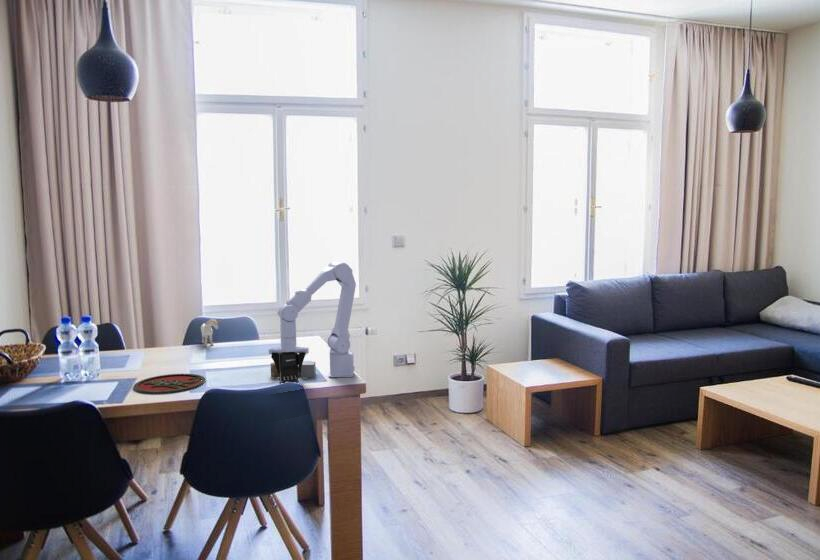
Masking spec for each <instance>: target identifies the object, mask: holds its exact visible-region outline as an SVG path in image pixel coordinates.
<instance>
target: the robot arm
mask: <svg viewBox="0 0 820 560" xmlns="http://www.w3.org/2000/svg"><path fill="white" fill-rule="evenodd" d="M333 281H337V284H338V285H340V288H341V289H340V290H341V291H340V295H339V301H338V306H337V307H338V308H337V313H336V318H335V323H334V326H333V328H332V330H331V333H330V335H329V336H328V338H327V340H326V341H327V347H328V348H329V373H328V376H327V377H328V378H352V377H354V374H355V366H354V363H355V362H354V361H355V360H354V359H355V358H354V357H355V356H354V354H355V353H354V352H350V351H349V350H350V348H351V341H350V336H351V335H350V332H349V326H350V321H351V315H352V308H353V303H354V298H355V293H356V286H357V283H356V281H355V277H354V274H353V269H352V268H351V267H350V266H349V264H347V262H346V263H345V262H339V261H335V260H334V261H332V262H330V263H328V265H327V266H325V267H324V268H323V269H322V270H321V271H320V273H318V275H317V276H316V277H315V278H314V279H313V281H312V282H311V283H310V284H309V285H308V286H307V287H306V288H305V289H299V290H296V291H295V292H294V295H293V296H292V297H291V298H290V299H289V300H287V301H285V304H282V305H280V307H279V309H278V311H277V314H278V317H279V318H280V324H279V325H280V326H279V328H280V330H279V331H280V332H279V333H280V347H269V348H268V354H269V355H270V356H271V359H272V360H273V363H275V365H276V368H277V373H280V365H279V355H280V354H281V353H283V352H295V353H298V363H299V367H298V373H301V367H302V363H303V362H304V360H305V358H306V355H307V354H309V351H310V348H309V347H302V346H301V347H300V346H297V324H296V321H297V320H296V319H297V318H298V316H299V313H300V312H301V311H302V310H303V309H304V308H305V307H306V306H307V305H308V304H309V303H310V302H311V301H312V296H313V295H314V294H315V293H316V292H317V291H318V290H319V289H320V288H321V287H323V286H324V285H326V283H328V282H333ZM353 372H354V373H353Z"/></svg>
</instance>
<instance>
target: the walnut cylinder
mask: <svg viewBox="0 0 820 560" xmlns="http://www.w3.org/2000/svg"><path fill="white" fill-rule="evenodd" d="M270 377H271V378H272V377H274V378H273V379H280V378H279V377H280V373H277V368H276V365H275V363H274V362H270Z"/></svg>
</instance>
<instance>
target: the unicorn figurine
mask: <svg viewBox="0 0 820 560" xmlns="http://www.w3.org/2000/svg"><path fill="white" fill-rule="evenodd" d="M225 320H226V319H225V318H224V319H220V320H217V318H216V319H214V318H213V319H208V320H207V321H206V322H204V323H202V324H201V326H200V332H201V337H202V338H201V344H202V345H203V346H204V347H207V346H208V339H209V343H210V346H214V342H213V333H214V331H213V328H212V327H214V329H215V330H218V329H219V325H218V324H219V323H221V322H222V321H225Z"/></svg>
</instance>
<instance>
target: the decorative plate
mask: <svg viewBox="0 0 820 560" xmlns="http://www.w3.org/2000/svg"><path fill="white" fill-rule="evenodd" d="M201 380H202V381H201ZM206 380H207V379H206V377H204V376H203V375H200V374H195V373H194V374H193V373H171V374H168V373H167V374H162V375H161V374H160V375H156V376H152V377H147V378H144V379H141V380H139V381H137V382H135V383H134V385H133V390H134V391H135V392H136V393H140V394H145V395H166V394H168V395H169V393H170V394H176V393H182V392H183V393H184V392H187V391H191V389H192V390H194V388H195V389H197V387H198V388H200V387H202V386H204V385H205V384H206ZM204 383H205V384H204ZM203 384H204V385H203ZM201 385H202V386H201ZM199 386H200V387H199Z"/></svg>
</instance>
